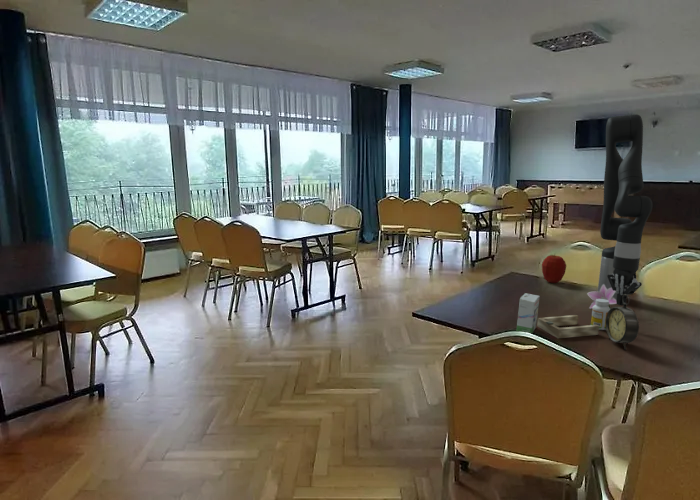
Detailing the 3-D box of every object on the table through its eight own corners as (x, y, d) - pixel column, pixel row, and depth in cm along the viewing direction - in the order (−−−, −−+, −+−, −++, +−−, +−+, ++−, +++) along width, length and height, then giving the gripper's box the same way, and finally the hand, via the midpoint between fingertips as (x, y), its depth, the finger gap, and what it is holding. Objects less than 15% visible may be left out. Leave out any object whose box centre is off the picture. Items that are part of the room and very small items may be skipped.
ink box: (521, 325, 161) (523, 292, 159) (537, 328, 158) (539, 294, 156) (515, 333, 154) (518, 298, 151) (531, 336, 151) (534, 301, 149)
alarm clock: (602, 337, 150) (608, 289, 147) (619, 337, 150) (625, 289, 147) (621, 351, 139) (628, 300, 136) (639, 351, 139) (646, 300, 136)
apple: (544, 285, 211) (546, 255, 208) (537, 279, 220) (540, 250, 218) (567, 285, 210) (570, 255, 207) (560, 279, 219) (563, 251, 216)
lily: (584, 305, 185) (579, 287, 181) (615, 296, 182) (611, 277, 178) (597, 324, 175) (592, 305, 171) (630, 315, 172) (626, 295, 168)
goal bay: (575, 323, 163) (576, 313, 162) (598, 334, 152) (599, 324, 152) (536, 326, 160) (537, 317, 159) (557, 338, 149) (558, 328, 148)
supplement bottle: (604, 324, 161) (607, 298, 159) (611, 330, 156) (614, 303, 154) (587, 324, 162) (590, 297, 160) (594, 330, 156) (597, 302, 154)
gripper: (652, 259, 150) (645, 310, 153) (621, 251, 163) (615, 298, 166) (633, 259, 148) (626, 311, 152) (602, 251, 161) (597, 299, 164)
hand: (620, 304), depth 159 cm, fingers closed
